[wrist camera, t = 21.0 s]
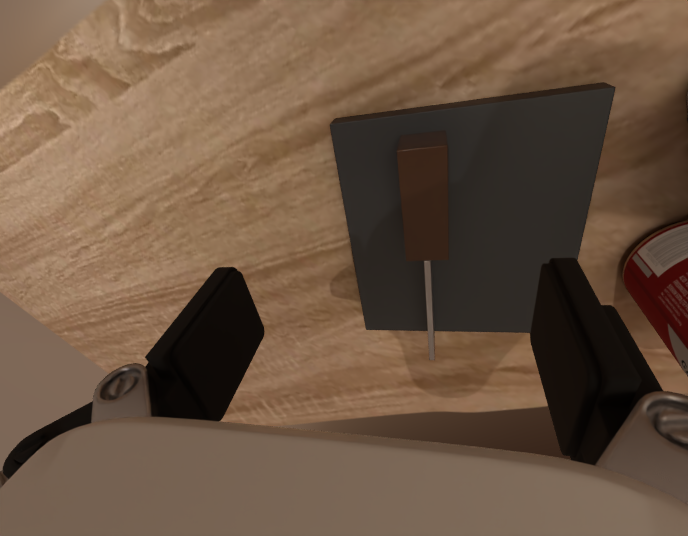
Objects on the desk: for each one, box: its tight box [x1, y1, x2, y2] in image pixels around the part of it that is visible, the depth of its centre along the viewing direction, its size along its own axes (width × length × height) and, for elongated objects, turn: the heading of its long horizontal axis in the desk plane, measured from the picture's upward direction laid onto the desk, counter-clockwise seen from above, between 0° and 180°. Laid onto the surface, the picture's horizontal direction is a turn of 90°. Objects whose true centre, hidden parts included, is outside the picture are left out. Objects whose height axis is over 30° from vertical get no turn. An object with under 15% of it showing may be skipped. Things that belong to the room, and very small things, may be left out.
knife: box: [397, 130, 449, 360], centre depth 24 cm, size 16×3×3 cm, turn 10°
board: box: [330, 82, 615, 333], centre depth 25 cm, size 17×15×2 cm
